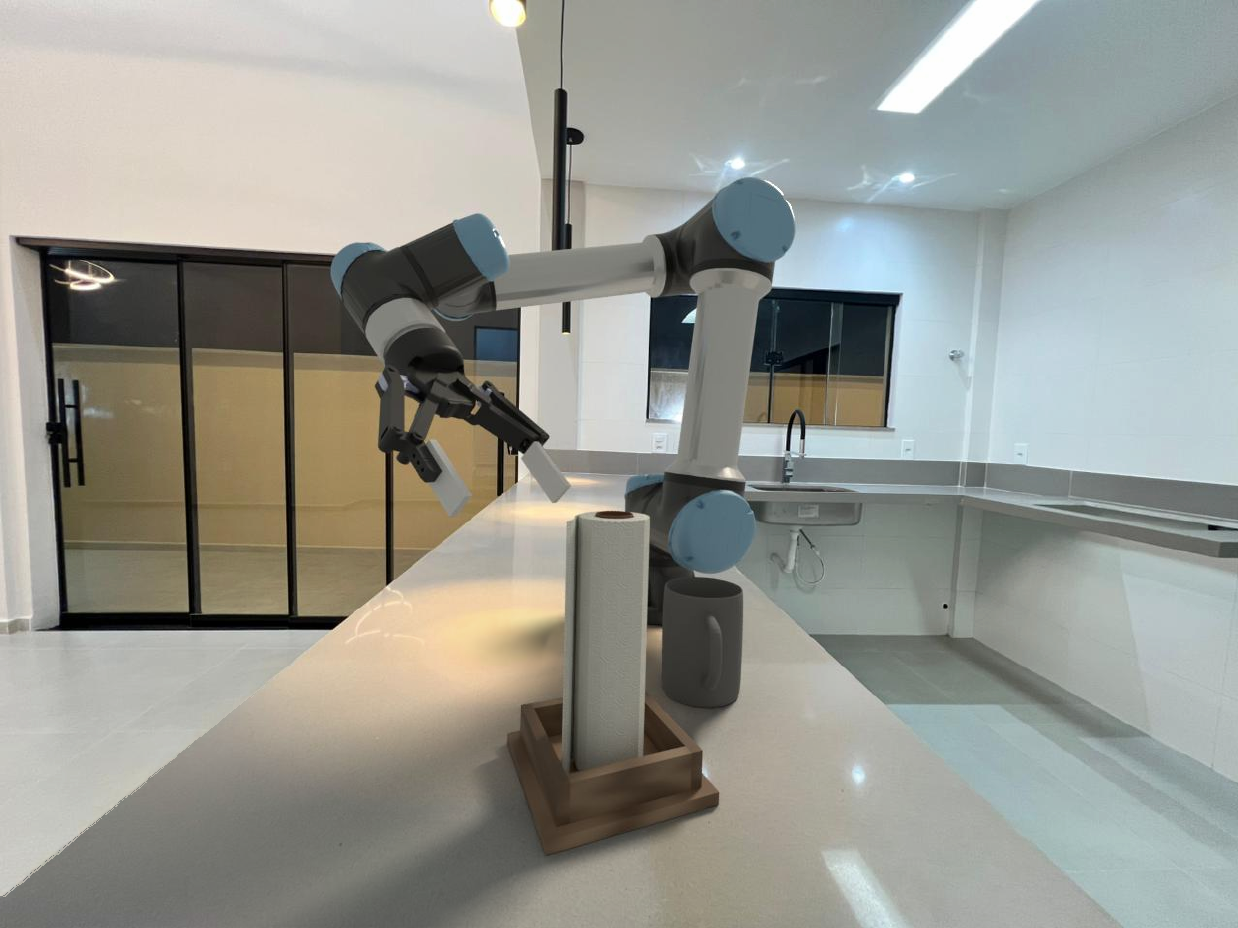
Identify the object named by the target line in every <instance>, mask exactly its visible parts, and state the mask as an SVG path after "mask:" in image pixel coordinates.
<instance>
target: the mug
mask: <svg viewBox="0 0 1238 928" xmlns="http://www.w3.org/2000/svg"><path fill="white" fill-rule="evenodd" d="M661 625H662V631H661V633H662V634H661V667H660V668H661V686H662V689H663V692H664V693H665V694H666V695H667V696H668V697H669V698H671V699H673V700H674V701H676V702H678V703H681V704H683V705H687V706H691V707H697V708H707V709H708V708H709V709H711V708H718V707H719V708H721V707H725V706H727V705H730V704H732V703H733V702H735V701H736V700H737V698H738V697H739V695H740V691H741V677H742V660H743V636H744V635H743V633H744V632H743V630H744V627H743V626H744V591H743V588H742V587H741V586H740V585H738V584H736V583H734V582H731V581H728V580H724V579H720V578H713V577H704V576H695V577H684V578H677V579H673V580H670V581H668V582H667V583H666V584H665V588H664V600H663V624H661Z"/></svg>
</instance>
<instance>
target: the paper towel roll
mask: <svg viewBox="0 0 1238 928" xmlns="http://www.w3.org/2000/svg"><path fill="white" fill-rule="evenodd" d="M649 533H650V517H649V516H647V515H645V514H640V513H633V512H625V510H624V511H623V510H622V511H621V510H603V511H602V510H601V511H599V510H598V511H597V510H596V511H589V512H588V511H587V512H584V513H583V512H582V513H580V514H577V515H574V518H573V519H571V520H567V521H566V537H565V538H566V541H565V543H566V544H565V546H566V547H565V549H566V551H565V553H566V554H565V584H564V585H565V588H564V589H565V590H564V593H565V594H564V596H565V597H564V632H563V633H564V635H563V637H564V638H563V639H564V640H563V641H564V642H563V643H564V644H563V674H562V676H563V677H562V678H563V680H562V681H563V684H562V685H563V686H562V698H563V722H562V766H563V768H564V770H565V773H566V774H570V762H571V760H572V758H573V761H574V763H575V765H576V767H577V770H579V771H583V770H587V769H591V768H596V767H600V766H604V765H608V764H612V763H617V762H621V761H625V760H629V759H634V758H638V757H642V756H643V742H644V708H645V691H646V674H647V673H646V671H647V670H646V669H647V668H646V666H647V664H646V662H647V637H648V636H647V631H648V623H647V603H648V568H649Z"/></svg>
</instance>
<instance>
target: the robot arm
mask: <svg viewBox="0 0 1238 928" xmlns="http://www.w3.org/2000/svg"><path fill="white" fill-rule="evenodd" d="M794 214H795V213H794V211H793V208H792V206H791V203H790V202H789V201H787V200H786V198H785V196H784V193H783V192H782V191H781V190H780V188H778V187H777V186H775V185H774V184H773V183H772V182H770V181H768V180H766V179H764V178H760V177H755V176H746V177H742V178H738V179H736V180H734V181H733V182H731V183H730V184H728V185H727V186H724V187H722V188H721V189H720V190H719V191H717V193H716V194H715V195H714V197H713V198H712V199H711V200H710V201H708V202H707V203H706V204H705V205H704V206H702V207H701V209H699V210H698V211H697V212H696V213H695V214H693V215H692V216H691V217H690V218H689V219H688V220H686V221H685V222H684V223H682V224H681V225H679V226H677V227H676V228H673V229H671V230H669V231H666V232H662V233H653V234H648V235H646V236H645V237H644V238H643V240H642V241H641V242H633V243H632V242H631V243H624V244H612V245H610V244H609V245H602V246H600V245H599V246H591V247H580V248H569V249H568V248H566V249H559V250H558V249H556V250H547V251H535V252H534V251H533V252H525V253H524V252H523V253H515V254H514V253H513V254H509V253H508V250H507V247H506V245H505V242H504V239H503V238H502V236H501V234H500V232H499V230H498V229H497V228H496V226H495V224H494V223H493V222H492V220H491V219H489V218H488V217H487V216H486V215H484V213H483V214H482V213H472V214H470V215H467V216H464V217H462V218H459V219H453V221H452V222H451V223H448V224H446V225H444V226H442V227H440V228H437V229H436V230H433V231H431V232H429V233H427V234H425V235H423V236H419V237H418V238H415V239H413V240H411V241H409V242H408V243H405V244H403V245H400V246H396V247H394V248H392V249H389V250H386V249H385V248H384V247H382V246H381V245H379V244H376V243H373V242H369V241H367V242H358V241H356V242H353V243H350V244H347V245H346V246H343V248H341V249H340V250H339V251H338V252H337V253H336V254H335V256H334V257H333V259H332V262H331V265H330V278H331V281H332V283H333V286H334V288H335V290H336V292H337V294H338V295H339V296H338V297H339V299H340V300H341V301H342V303H343V305H344V307H345V308H346V309H347V311H348V313H349V314H350V316H351V317H352V319H353V320H354V322H355V323H356V325H357V326H358V328H359V329H360V331H361V332H362V333H363V336H364V337H365V338H366V340H367V342H368V343H369V344H370V346H371V347H372V349H373V351H374V352H375V354H376V355H377V357H378V359H379V360H380V362H381V363H382V364H383V366H384V369H383V370H382V372H381V373H380V375H379V377H378V379H377V381H376V382H375V384H374V389H375V390H376V393H377V394H378V396H379V398H380V401H379V403H380V404H379V419H378V437H377V440H378V441H377V447H378V450H379V451H380V452H382V453H384V454H390V453H392V452H393V451H395V452H398V453H397V454H396V457H395V458H396V459H395V460H396V461H397V462H398V463H400V464H401V465H406V466H407V465H409V464H410V463H411V465H412V467H413V468H414V470H415V472H416V473H417V475H418V477H419V478H420V480H422V482H424V483H426V484H429V486H430V488H431V490H432V491H433V493H434V494H435V496H436V498H437V499H438V501H439V502H440V503H439V504H441V507H442V508H443V509H444V511H445V513H446V514H447V516H448V517H449V518H454V517H458V515H459V514H460V513H461V511H462V510H463V509H464V507H465V506H466V504H467V503H469V501H470V499H471V498H472V497H473V494H472V493H471V492H470V490H469V488H468V487H467V485H466V484H465V482H464V480H463V479H462V478H461V476H460V475H459V473H458V471H457V469H456V467H454V465H453V463H452V461H451V460H450V458H448V457H449V456H447V454H446V453H445V451H444V449H443V448H442V446H441V445H440V443H439V441H438V440H437V439H428V441H427V442H425V440H426V439H427V437H428V435H429V434H428V433H429V431H430V429H431V425H432V423H433V420H434V417H435V415H436V416H439V418H441V419H449V418H452V419H453V418H454V419H458V420H464V421H465V422H466V423H468V424H470V425H471V426H479V427H481V428H483V429H484V430H485V431H488V432H489V433H491V435H493V436H495V437H497V438H498V439H499V440H501V441H503V442H504V443H506V444H507V445H509V446H510V447H512V448H513V449H515V450H516V451H518V452H519V453H521V454H522V456H521V458H520V459H521V461H522V463H523V464H524V465H525V466H526V468H527V469H528V470H529V473H530V474H531V475H532V476H533V477H534V479H535V481H536V483H537V484H538V485H539V486H540V488H541V489H542V491H543V492H544V493H545V495H546V496H547V498H548V499H549V500H550V502H551V503H552V504H556V503H558V502H559V501H560V499H562V497H563V496H564V495H565V494H566V493H567V491H569V489H570V488H571V487H572V484H571V483H570V482H569V481H568V479H567V478H566V477H565V475H564V473H562V471H561V470H560V469H559V468H558V466H557V464H556V463H555V461H554V459H552V457H551V456H550V454H549V453H548V452H547V451H546V449H545V448H544V445H545V444H546V443H547V441H548V440H549V439H551V438H550V435H549V434H548V432H546V430H544V429H543V428H542V427H541V426H540V425H539V424H538V423H536V422H535V421H533V420H532V419H531V418H530V417H529V416H528V415H527V414H525V413H524V412H523V411H522V410H520V409H519V408H518V406H516V405H515V404H514V403H513V402H511V401H510V400H509V399H508V398H506V397H505V396H504V395H503V394H502V393H501V392H500V391H499V389H498V388H497V387H496V386H495V385H494V383H493V382H491V381H489V380H484V381H483V383H482V385H476V384H475V383H474V382H472V381H471V379H469V378H468V377H467V376H466V374H465V363H464V362H465V360H464V357H463V354H462V353H461V352H460V350H459V349H458V347H457V346H456V345H455V343H454V342H453V341H452V339H451V338H450V336H448V334H447V333H446V330H445V329H444V327H443V326H442V324H440V322H439V321H438V319H437V318H436V317H435V315H434V314H433V313H432V312H431V310H434V312H435V313H436V314H437V315H438V316H440V317H442V319H445V320H448V321H451V322H459V321H460V322H461V321H465V320H467V319H468V318H470V317H472V316H474V314H480V313H481V314H482V313H489V312H490V313H491V312H494V311H501V310H509V309H519V308H526V307H534V306H535V307H536V306H543V305H551V304H559V303H567V302H576V301H583V300H591V299H600V298H601V299H602V298H608V297H615V296H616V297H617V296H625V295H626V296H627V295H633V294H641V293H646V294H647V295H648V297H651V298H652V299H653V298H663V297H673V296H681V295H682V296H683V295H695V294H696V295H697V303H696V308H695V309H696V311H695V320H694V326H693V331H692V332H693V334H692V340H691V341H692V342H691V348H690V356H689V364H688V372H687V379H686V386H685V395H684V401H683V410H682V417H681V423H680V432H679V439H678V447H677V454H676V458H675V460H674V461H673V462H672V463H671V464H670V465H668V466H667V467H666V468H664V473H651V474H650V473H649V474H648V473H647V474H646V473H645V474H644V473H643V474H635V475H632V476H630V477H629V478H628V479H627V480H626V485H625V486H626V487H625V491H624V492H625V493H624V494H623V495H624V496H623V497H624V512H633V513H640V514H645V515H647V516H649V517H650V533H649V568H648V603H647V625H648V624H649V625H662V624H663V600H664V588H665V584H666V583H667V582H668V581H670V580H673V579H677V578H684V577H696V573H700V574H705V575H706V574H707V575H715V574H720V573H721V574H722V573H724V572H726V571H729V570H731V569H732V568H734V567H735V565H737V564H738V563H739V562H741V561H742V560H743V559H744V558H745V557H746V556H747V555H748V552H749V551H750V549H752V548H751V547H752V545H753V543H754V540H755V536H756V529H757V522H756V517H755V514H754V511H753V510H752V509H751V507H750V504H749V503H748V501H746V499H745V491H746V483H747V482H746V481H747V480H746V478H745V477H744V476H743V474H742V472H741V471H740V470H739V467H738V459H739V452H740V446H741V438H742V437H741V436H742V430H743V422H744V415H745V414H744V413H745V407H746V399H747V393H748V384H749V377H750V371H751V370H750V369H751V363H752V362H751V361H752V354H753V347H754V341H755V339H754V338H755V333H756V325H757V316H758V310H759V309H758V308H759V303H760V300H762V299H763V298H764V297H765V296H766V295H768V294H769V293H770V292H771V290H772V288H773V279H774V274H775V273H774V272H775V267H776V261H778V260H780V259H782V258H783V257H784V256H785V255H786V253H787V252H788V251H789V250H790V248H791V247H792V245H793V243H794V240H795V236H796V231H797V230H796V225H797V224H796V218H795V215H794ZM405 397H407V398H409V399H412V400H414V401H415V402H417V403H418V407H417V409H416V411H415V413H414V418H413V419H412V422H411V425H410V427H409V429H408V431H406V430H405V428H406V426H405V425H406V424H405V421H406V420H405V418H406V417H405V412H406V411H405V409H406V408H405V401H406V399H405ZM476 406H478V407H479V408H477V409H478V410H477V411H476V412H475V414H474V413H472V411H474V409H475V407H476ZM695 572H696V573H695Z"/></svg>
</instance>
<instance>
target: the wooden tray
mask: <svg viewBox="0 0 1238 928" xmlns="http://www.w3.org/2000/svg"><path fill="white" fill-rule="evenodd" d="M519 720H520V725H519V726H520V727H519V728H520V729H519V730H517V731H511V732H507V733H506V745H507V747H508V751H509V753H510V756H511V759H512V760H511V761H512V763H513V764H514V767H515V771H516V774H517V776H518V779H519V783H520V784H521V788H522V791H523V794H524V796H525V799H526V803H527V805H528V808H529V811H530V814H531V816H532V817H531V818H532V820H533V823H534V826H535V828H536V829H535V830H537V835H538V837H539V840H540V842H541V846H542V849H543V851H544V852H543V853H544V855H545V856H549V855H553V854H555V853H558V852H562V851H563V852H564V851H566V850H570V849H572V848H575V847H580V846H582V845H583V846H584V845H586V844H589V843H593V842H597V841H599V840H603V839H606V838H609V837H614V836H617V835H620V834H623V833H626V832H630V831H633V830H637V829H640V828H643V827H647V826H649V825H654V824H657V823H661V822H663V821H667V820H671V819H674V818H677V817H680V816H684V815H687V814H691V813H695V812H697V811H701V810H704V809H708V808H710V807H711V808H712V807H714V806H718V805H720V791H719V790H718V789H717V788H716V787H715V785H714V784H713V783H712V782H711V781H710V780H709V778H708V777H706V775H705V774H704V773H703V758H704V757H703V754H704V753H703V751H704V750H703V749H702V748H701V747H700V746H699V745H698V744H697V743H696V742H695V741H694V740H693V739H692V738H691V737H690V736H689V734H688V733H687V732H686V731H684V729H683V728H682V727H681V726H680V725H679V724H678V723H677V722H676V721H675V720H674V719H673V718H672V716H670V714H669V713H667V712H666V710H664V708H663V707H661V706H660V705H659V703H658V702H657V701H656V700H655V699H654V697H652V696H651V695H650V694H649V693H648V692H647V691H646V690H645V708H644V742H643V756H642V757H638V758H634V759H629V760H625V761H621V762H617V763H612V764H608V765H604V766H600V767H596V768H591V769H587V770H583V771H579V770H577V767H576V765H575V763H574V761H573V758H572V760H571V762H570V774H566V773H565V770H564V768H563V766H562V722H563V697H558V698H551V699H546V700H541V701H535V702H528V703H524V704H520V719H519Z"/></svg>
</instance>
